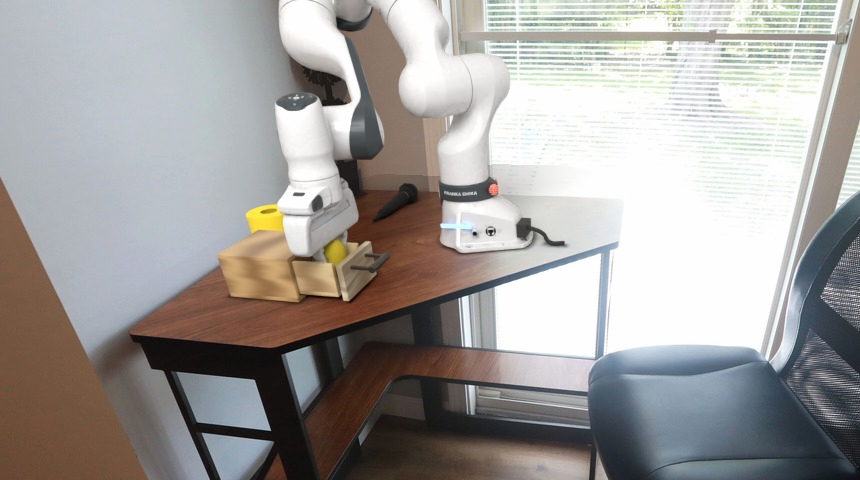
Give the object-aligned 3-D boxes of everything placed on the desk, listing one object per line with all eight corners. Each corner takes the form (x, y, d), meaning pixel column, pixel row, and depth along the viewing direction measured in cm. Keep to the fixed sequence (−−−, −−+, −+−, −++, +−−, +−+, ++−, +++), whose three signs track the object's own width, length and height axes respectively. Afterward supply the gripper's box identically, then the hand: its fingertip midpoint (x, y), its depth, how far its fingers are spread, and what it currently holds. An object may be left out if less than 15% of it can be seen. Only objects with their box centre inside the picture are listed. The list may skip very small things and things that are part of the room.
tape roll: (285, 259, 130) (274, 219, 125) (248, 256, 133) (236, 217, 127) (309, 243, 138) (299, 205, 133) (274, 240, 141) (263, 203, 135)
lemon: (355, 269, 116) (347, 231, 112) (343, 281, 111) (334, 242, 107) (330, 268, 117) (322, 230, 113) (318, 279, 113) (308, 241, 108)
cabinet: (333, 273, 123) (323, 233, 118) (298, 302, 112) (286, 259, 107) (270, 268, 126) (258, 229, 121) (230, 296, 115) (216, 254, 110)
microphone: (382, 233, 150) (420, 201, 164) (383, 214, 146) (422, 183, 160) (364, 225, 151) (404, 194, 165) (365, 206, 147) (405, 176, 161)
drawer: (399, 276, 118) (394, 242, 114) (373, 303, 108) (366, 268, 104) (315, 269, 122) (307, 237, 118) (282, 295, 112) (272, 261, 108)
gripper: (330, 174, 114) (344, 239, 122) (270, 207, 98) (291, 280, 105) (359, 175, 113) (371, 241, 120) (303, 209, 96) (321, 283, 104)
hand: (333, 260), depth 113 cm, fingers closed on lemon, 5 cm apart
